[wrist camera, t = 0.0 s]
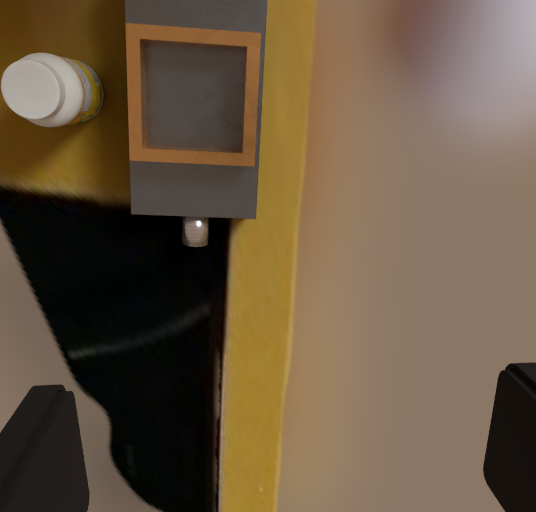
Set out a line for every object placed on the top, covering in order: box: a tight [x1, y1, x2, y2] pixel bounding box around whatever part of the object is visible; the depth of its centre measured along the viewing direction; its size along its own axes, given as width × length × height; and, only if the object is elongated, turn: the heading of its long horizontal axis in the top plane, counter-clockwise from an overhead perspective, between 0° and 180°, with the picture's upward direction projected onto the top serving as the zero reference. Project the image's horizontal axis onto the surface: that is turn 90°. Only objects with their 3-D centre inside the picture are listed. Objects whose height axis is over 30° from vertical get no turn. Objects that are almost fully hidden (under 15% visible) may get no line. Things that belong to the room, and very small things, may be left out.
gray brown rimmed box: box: [125, 0, 267, 247], centre depth 41 cm, size 23×11×6 cm, turn 177°
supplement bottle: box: [1, 53, 104, 127], centre depth 38 cm, size 5×5×10 cm
